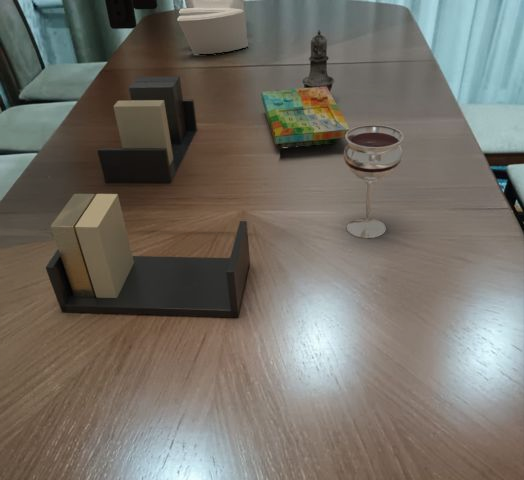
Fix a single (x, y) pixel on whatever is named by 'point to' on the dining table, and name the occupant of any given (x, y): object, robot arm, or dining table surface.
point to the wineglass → (371, 167)
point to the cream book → (143, 124)
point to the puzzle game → (304, 117)
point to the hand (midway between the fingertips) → (135, 17)
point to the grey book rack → (154, 159)
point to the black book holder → (137, 268)
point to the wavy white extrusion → (214, 25)
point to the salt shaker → (318, 64)
